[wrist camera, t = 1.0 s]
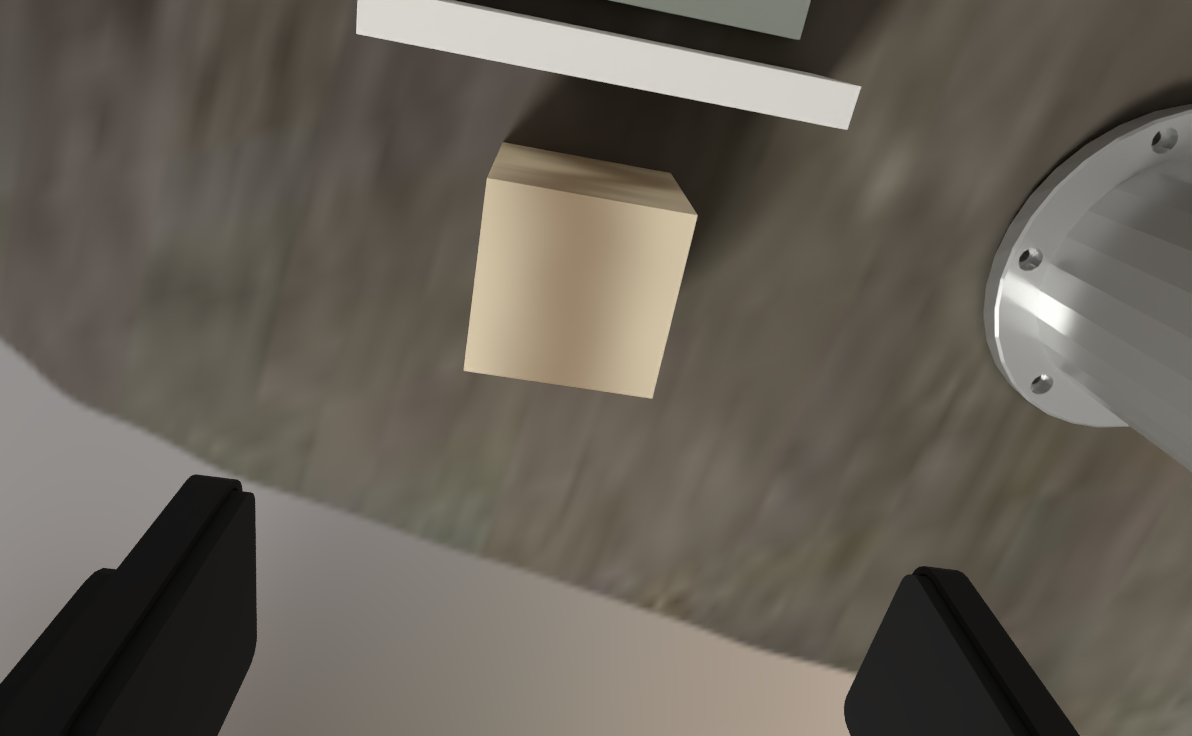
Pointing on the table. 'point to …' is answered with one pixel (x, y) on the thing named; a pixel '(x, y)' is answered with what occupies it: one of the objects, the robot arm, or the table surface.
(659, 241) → the maple cube
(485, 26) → the cream screen
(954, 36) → the table surface
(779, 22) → the sage pad
